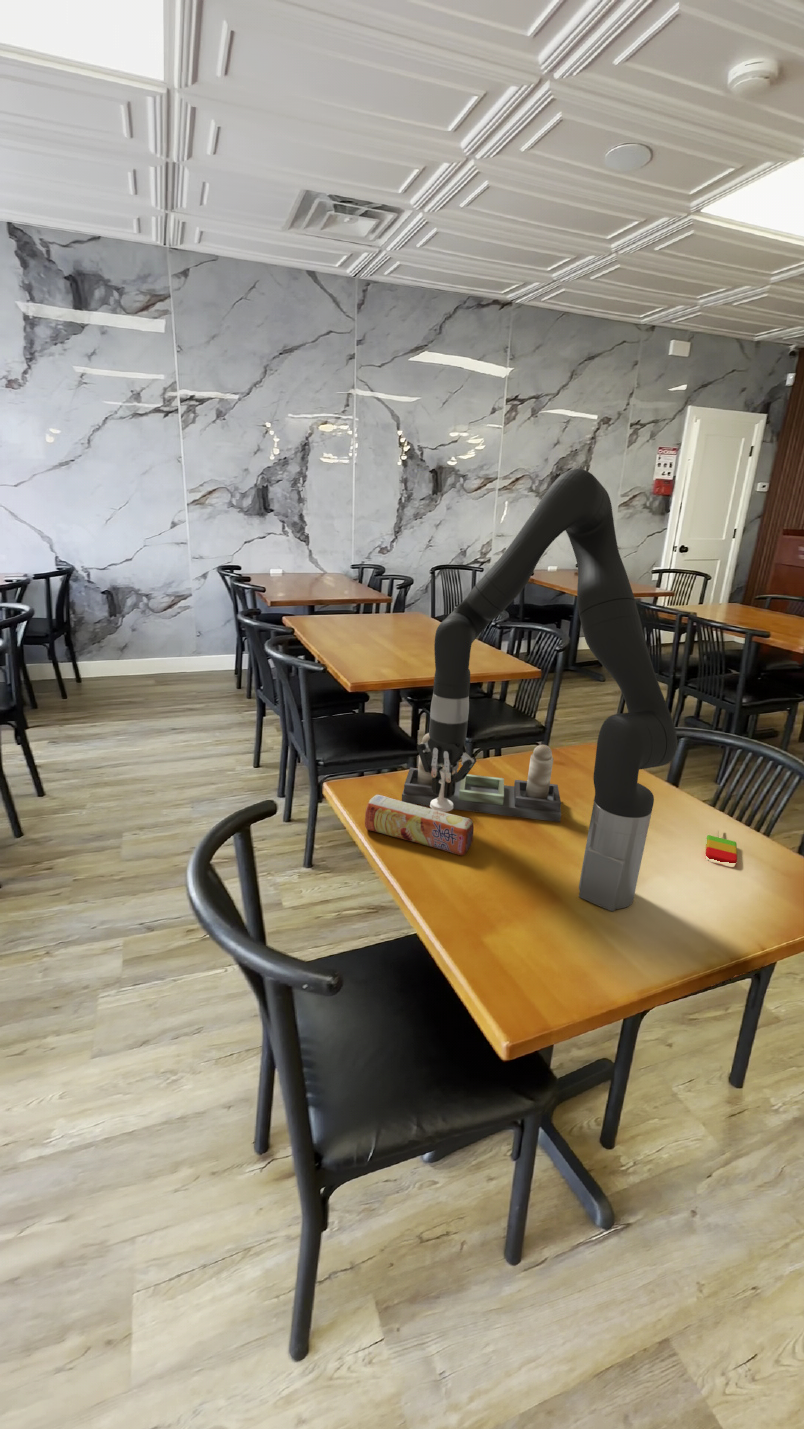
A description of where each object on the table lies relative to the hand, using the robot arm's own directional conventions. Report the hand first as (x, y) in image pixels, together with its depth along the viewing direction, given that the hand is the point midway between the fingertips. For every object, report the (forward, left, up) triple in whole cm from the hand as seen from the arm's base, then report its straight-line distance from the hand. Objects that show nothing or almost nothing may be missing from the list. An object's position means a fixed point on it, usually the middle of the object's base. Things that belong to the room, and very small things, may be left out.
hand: (442, 794), depth 134 cm
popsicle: (+31, -48, -6) cm, 57 cm away
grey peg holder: (+13, -2, -5) cm, 14 cm away
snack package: (-10, -1, -6) cm, 11 cm away
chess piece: (0, 0, -3) cm, 3 cm away
